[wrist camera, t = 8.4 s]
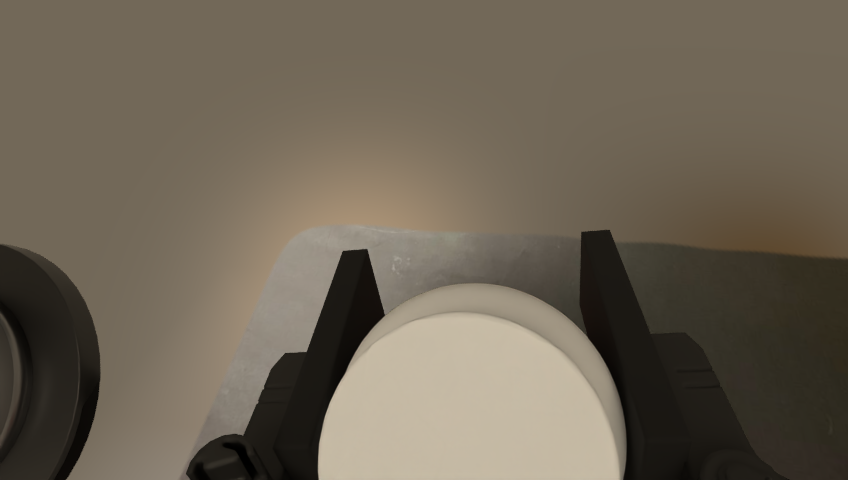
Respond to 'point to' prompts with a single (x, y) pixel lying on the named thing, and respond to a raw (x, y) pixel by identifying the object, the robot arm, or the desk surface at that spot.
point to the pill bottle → (474, 395)
